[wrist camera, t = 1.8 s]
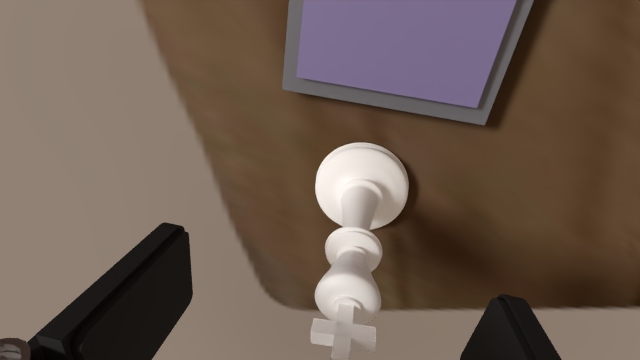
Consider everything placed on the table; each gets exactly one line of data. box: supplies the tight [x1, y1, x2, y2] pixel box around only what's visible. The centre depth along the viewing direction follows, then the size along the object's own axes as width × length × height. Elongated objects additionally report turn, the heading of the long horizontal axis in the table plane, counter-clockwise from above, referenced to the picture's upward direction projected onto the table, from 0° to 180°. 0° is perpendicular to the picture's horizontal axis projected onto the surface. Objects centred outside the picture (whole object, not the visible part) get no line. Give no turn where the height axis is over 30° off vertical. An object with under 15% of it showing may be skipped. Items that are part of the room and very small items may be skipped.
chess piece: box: [311, 143, 409, 360], centre depth 12 cm, size 5×5×10 cm
